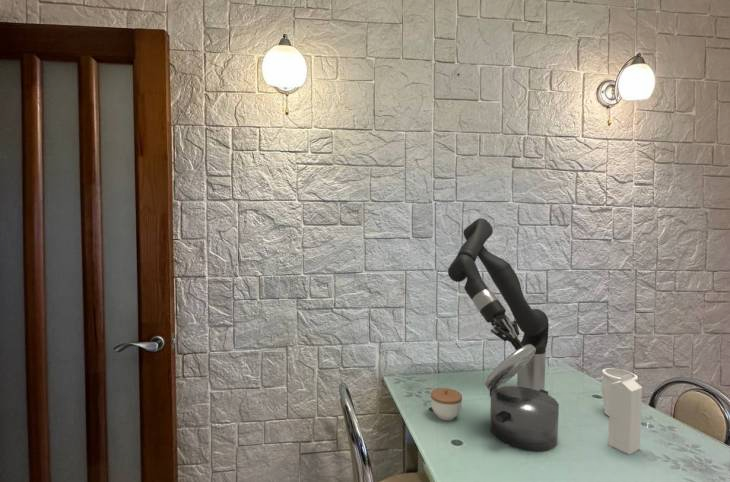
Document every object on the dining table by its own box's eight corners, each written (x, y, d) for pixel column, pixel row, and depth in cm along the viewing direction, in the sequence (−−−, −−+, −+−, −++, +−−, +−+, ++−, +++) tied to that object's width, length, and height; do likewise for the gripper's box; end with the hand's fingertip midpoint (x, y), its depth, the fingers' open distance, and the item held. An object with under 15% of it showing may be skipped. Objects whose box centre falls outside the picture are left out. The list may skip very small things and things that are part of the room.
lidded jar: (443, 426, 126) (444, 399, 126) (424, 412, 136) (424, 386, 135) (468, 419, 131) (468, 392, 131) (447, 406, 141) (448, 381, 140)
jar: (642, 424, 129) (644, 380, 128) (608, 421, 131) (609, 378, 130) (627, 409, 139) (628, 368, 138) (595, 406, 141) (597, 366, 140)
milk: (639, 449, 114) (643, 377, 113) (629, 455, 111) (632, 380, 110) (618, 439, 120) (621, 369, 119) (607, 444, 117) (610, 373, 116)
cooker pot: (466, 433, 122) (467, 399, 122) (513, 406, 140) (514, 377, 140) (531, 465, 106) (532, 427, 106) (574, 431, 124) (575, 397, 124)
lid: (477, 397, 123) (472, 389, 125) (511, 380, 136) (505, 374, 138) (513, 355, 114) (506, 348, 115) (545, 342, 127) (538, 336, 128)
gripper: (484, 301, 125) (518, 348, 116) (506, 296, 133) (539, 339, 124) (470, 314, 129) (502, 360, 120) (492, 309, 138) (523, 351, 129)
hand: (521, 349), depth 122 cm, fingers closed
